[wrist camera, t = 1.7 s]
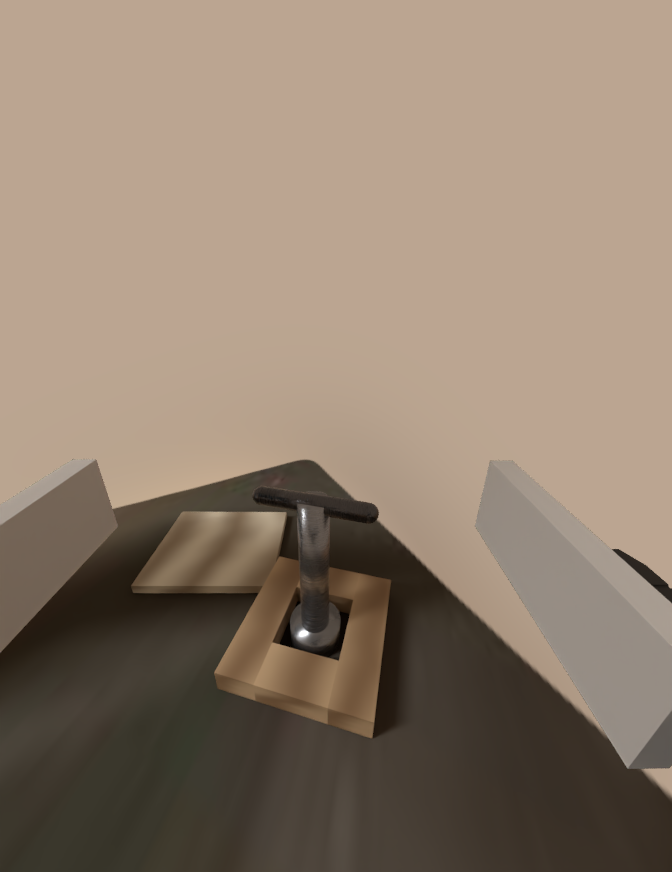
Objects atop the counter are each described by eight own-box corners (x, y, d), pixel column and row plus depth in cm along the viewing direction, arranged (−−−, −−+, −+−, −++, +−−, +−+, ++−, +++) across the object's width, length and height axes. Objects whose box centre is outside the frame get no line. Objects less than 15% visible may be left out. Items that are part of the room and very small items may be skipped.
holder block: (217, 688, 25) (214, 672, 24) (280, 570, 35) (279, 556, 34) (372, 738, 22) (374, 722, 21) (389, 594, 33) (391, 580, 32)
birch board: (133, 593, 32) (130, 585, 32) (183, 517, 43) (182, 511, 43) (271, 593, 32) (270, 586, 32) (286, 518, 43) (286, 512, 43)
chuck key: (256, 645, 28) (237, 503, 22) (277, 602, 32) (265, 471, 26) (363, 675, 26) (374, 527, 20) (371, 625, 29) (382, 488, 23)
